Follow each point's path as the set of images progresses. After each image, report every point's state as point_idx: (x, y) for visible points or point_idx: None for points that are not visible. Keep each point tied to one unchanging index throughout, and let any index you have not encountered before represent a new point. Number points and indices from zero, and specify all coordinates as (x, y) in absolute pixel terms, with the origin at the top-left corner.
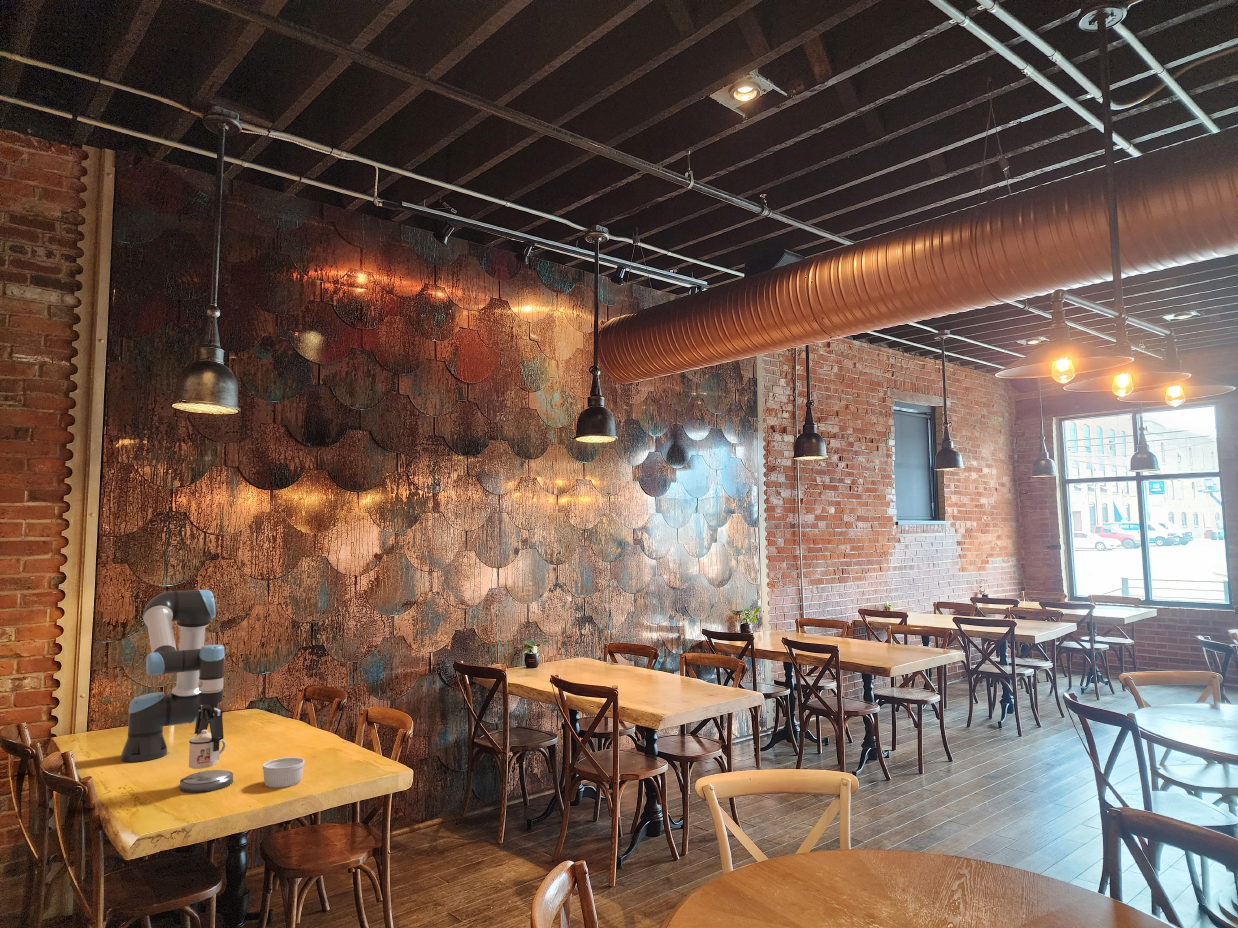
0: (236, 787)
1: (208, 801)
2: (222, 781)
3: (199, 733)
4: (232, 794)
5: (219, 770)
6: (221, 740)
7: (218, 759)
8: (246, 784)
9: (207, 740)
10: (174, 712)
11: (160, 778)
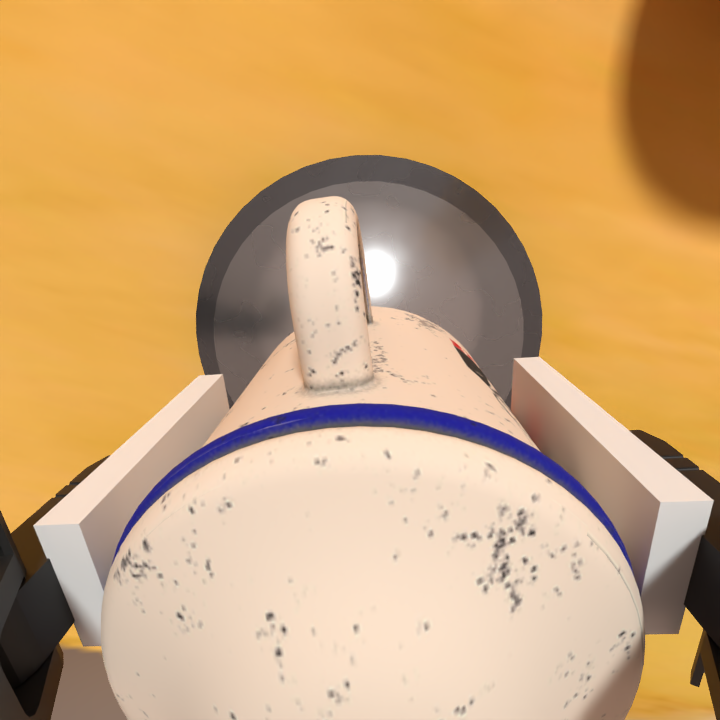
0: (587, 215)
1: (683, 431)
2: (538, 299)
3: (48, 713)
4: (702, 294)
5: (281, 225)
6: (363, 306)
7: (539, 362)
8: (587, 131)
9: (625, 699)
10: None
11: (25, 455)
